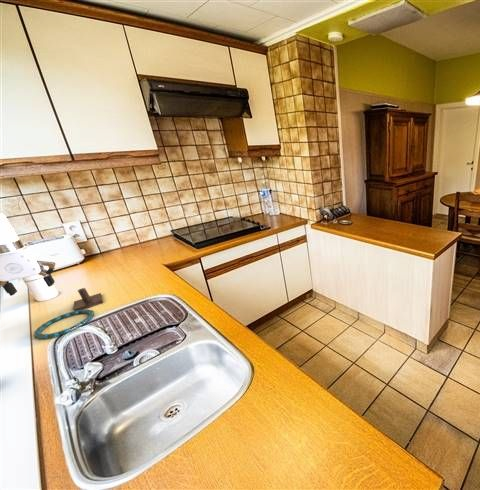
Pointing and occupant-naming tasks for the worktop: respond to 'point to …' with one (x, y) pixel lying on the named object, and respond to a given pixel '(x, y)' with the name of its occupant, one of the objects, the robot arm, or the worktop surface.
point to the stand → (87, 300)
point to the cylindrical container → (40, 287)
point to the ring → (42, 327)
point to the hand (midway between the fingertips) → (33, 289)
